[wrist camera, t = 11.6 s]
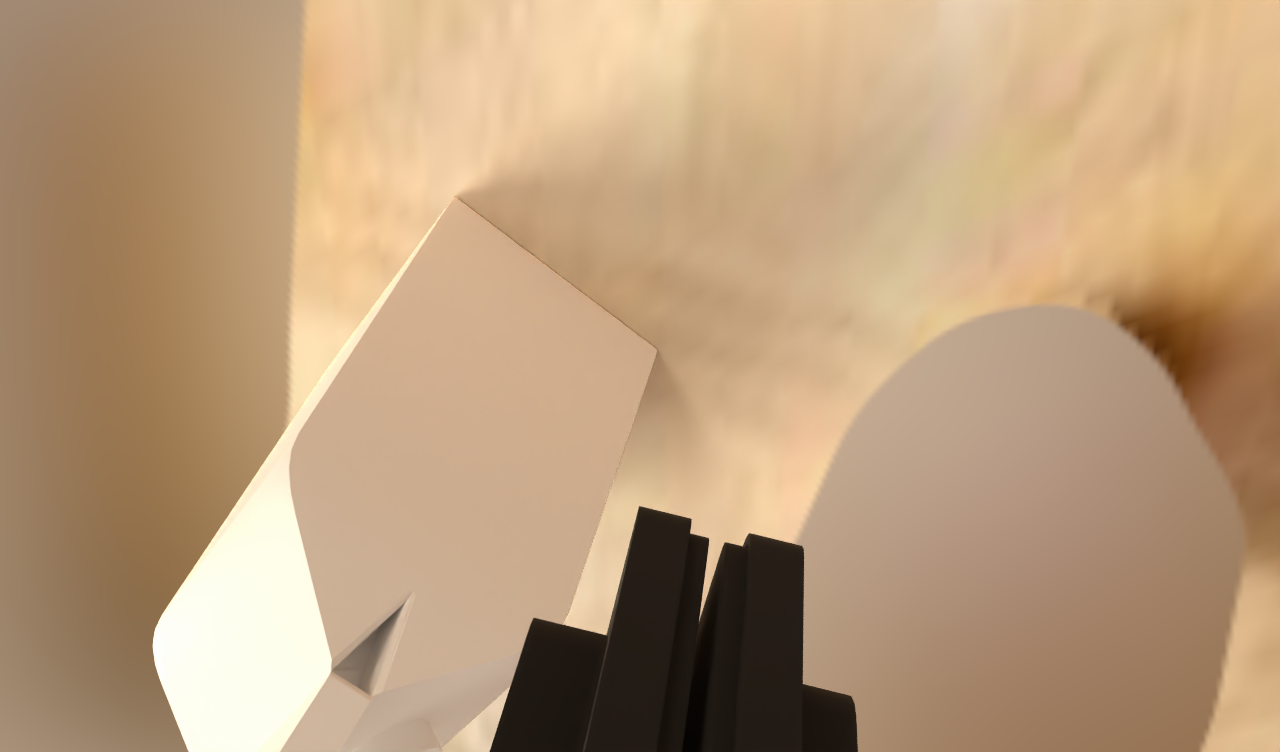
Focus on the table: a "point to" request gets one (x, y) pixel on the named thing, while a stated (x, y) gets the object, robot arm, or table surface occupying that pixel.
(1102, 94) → the table surface
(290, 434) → the milk
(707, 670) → the robot arm
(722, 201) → the table surface
